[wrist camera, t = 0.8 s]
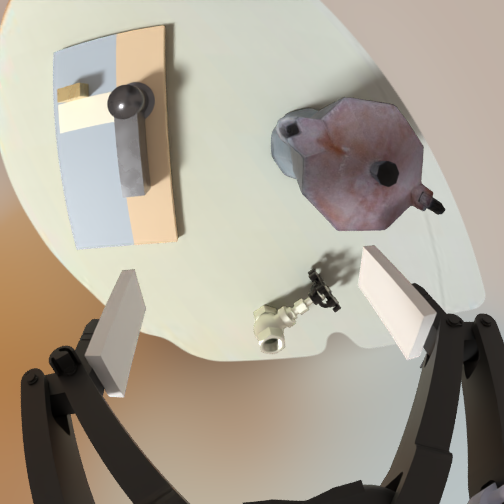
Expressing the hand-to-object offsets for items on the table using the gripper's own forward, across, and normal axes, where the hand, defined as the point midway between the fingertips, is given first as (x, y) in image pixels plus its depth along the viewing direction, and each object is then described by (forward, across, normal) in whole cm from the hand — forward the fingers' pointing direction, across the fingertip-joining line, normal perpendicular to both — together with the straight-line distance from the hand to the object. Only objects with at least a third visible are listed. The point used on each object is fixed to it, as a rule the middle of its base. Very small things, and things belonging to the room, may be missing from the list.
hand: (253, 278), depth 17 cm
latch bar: (+19, -10, +7) cm, 23 cm away
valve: (+20, +6, -17) cm, 27 cm away
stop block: (+19, -17, +14) cm, 29 cm away
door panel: (+20, -14, +7) cm, 26 cm away
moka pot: (+21, +9, +4) cm, 23 cm away
